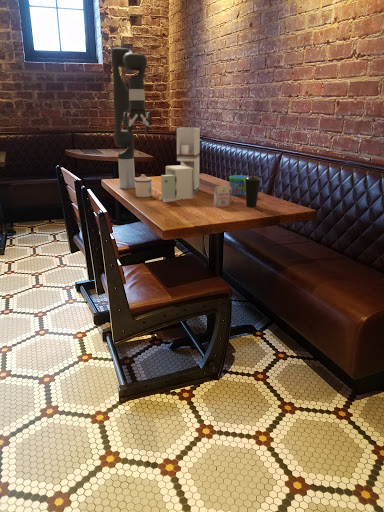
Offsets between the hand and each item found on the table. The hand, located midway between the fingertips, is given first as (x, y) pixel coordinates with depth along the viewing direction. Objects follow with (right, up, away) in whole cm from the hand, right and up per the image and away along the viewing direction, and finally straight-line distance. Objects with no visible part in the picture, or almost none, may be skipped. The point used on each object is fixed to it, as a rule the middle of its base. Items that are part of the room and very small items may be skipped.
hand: (138, 134), depth 202 cm
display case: (+25, -23, +34) cm, 48 cm away
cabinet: (+17, -30, +15) cm, 37 cm away
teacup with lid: (0, -28, +22) cm, 35 cm away
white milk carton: (+41, -36, -2) cm, 55 cm away
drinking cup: (+56, -36, -2) cm, 67 cm away
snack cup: (+53, -27, +24) cm, 64 cm away
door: (+14, -32, +10) cm, 36 cm away
